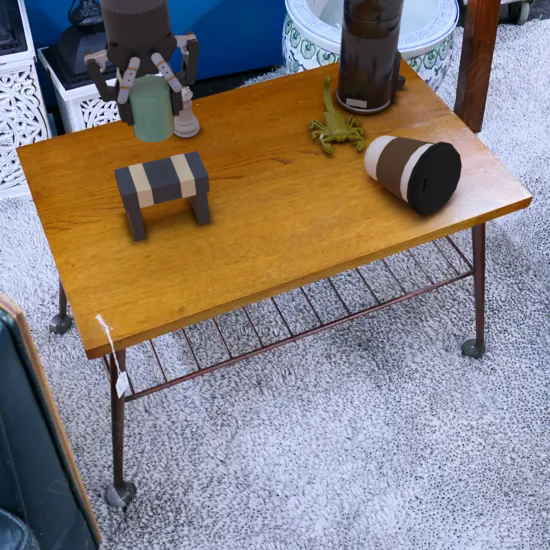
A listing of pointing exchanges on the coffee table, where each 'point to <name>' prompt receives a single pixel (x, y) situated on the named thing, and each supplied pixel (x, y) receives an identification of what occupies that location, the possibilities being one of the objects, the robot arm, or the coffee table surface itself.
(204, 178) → the barricade
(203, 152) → the coffee table surface
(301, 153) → the coffee table surface
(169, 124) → the mint green cylinder
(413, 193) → the coffee cup
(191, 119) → the rook chess piece
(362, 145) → the scorpion
